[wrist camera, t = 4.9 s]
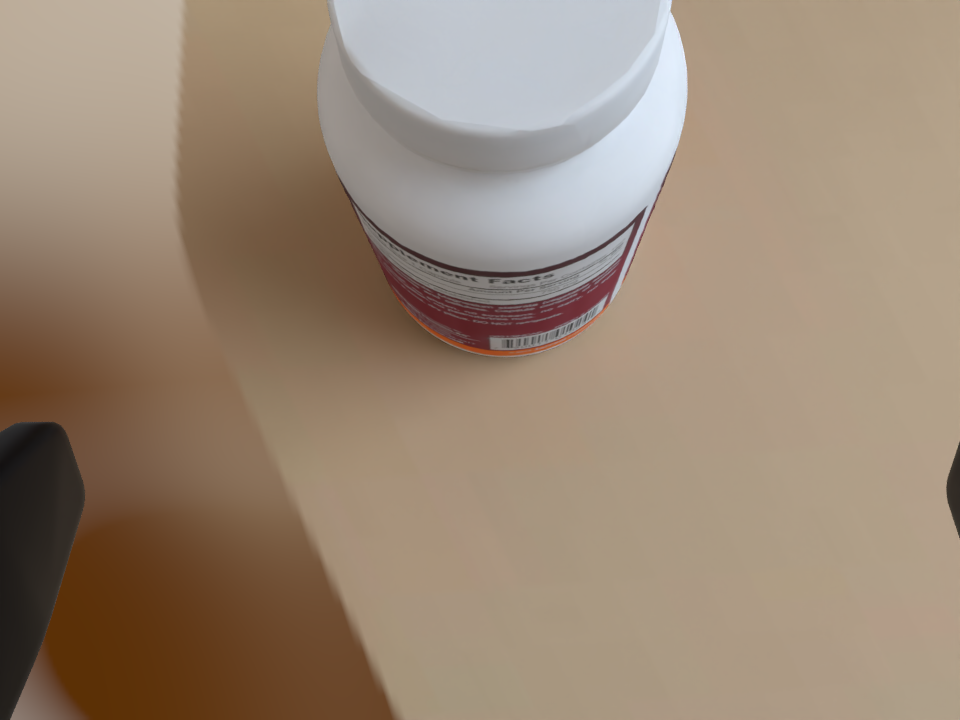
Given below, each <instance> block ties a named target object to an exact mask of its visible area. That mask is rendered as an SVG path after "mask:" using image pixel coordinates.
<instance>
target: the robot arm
mask: <svg viewBox="0 0 960 720" xmlns="http://www.w3.org/2000/svg"><path fill="white" fill-rule="evenodd" d="M946 488H947V500H948V504H949V507H950V510H951V513H952V517H953V520H954V523H955V526H956V529H957V532H958V535H959V538H960V442H959V445H958V449H957V452H956V455H955V458H954V461H953V464H952V467H951V470H950V473H949V476H948V480H947V487H946ZM84 501H85V490H84V484H83V480H82V478H81V474H80V471H79V469H78V465H77V462H76V459H75V456H74V454H73V451H72V448H71V445H70V442H69V439H68V436H67V434H66V432H65V430H64V429H63V428H62V426H61V425H59V424H57V423H55V422H21V423H16V424H14V425H12V426H10V427H8V428H7V429H5V430H3V431H1V432H0V720H10V718H11V716H12V714H13V711H14V709H15V707H16V704H17V702H18V700H19V697H20V695H21V693H22V690H23V688H24V686H25V683H26V681H27V679H28V676H29V674H30V672H31V669H32V667H33V665H34V662H35V660H36V657H37V655H38V652H39V650H40V647H41V645H42V642H43V640H44V637H45V633H46V631H47V627H48V624H49V622H50V619H51V616H52V612H53V609H54V605H55V602H56V599H57V595H58V592H59V589H60V585H61V582H62V578H63V575H64V572H65V568H66V565H67V562H68V558H69V555H70V551H71V548H72V545H73V542H74V538H75V535H76V532H77V528H78V525H79V521H80V518H81V514H82V511H83V507H84Z"/></svg>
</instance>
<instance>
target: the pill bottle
mask: <svg viewBox="0 0 960 720" xmlns="http://www.w3.org/2000/svg"><path fill="white" fill-rule="evenodd" d="M671 3H672V0H327V4H328V11H329V16H330V21H331V25H330V27H329V30H328V33H327V35H326V39H325V43H324V47H323V51H322V55H321V58H320V65H319V72H318V83H317V101H318V114H319V120H320V126H321V130H322V133H323V137H324V141H325V144H326V147H327V150H328V153H329V155H330V158H331V160H332V162H333V164H334V167H335V170H336V173H337V175H338V177H339V180H340V182H341V184H342V186H343V188H344V190H345V193H346V194H347V196H348V198H349V200H350V202H351V205H352V207H353V209H354V211H355V213H356V215H357V218H358V220H359V222H360V224H361V226H362V228H363V230H364V232H365V234H366V236H367V238H368V241H369V243H370V245H371V247H372V249H373V251H374V253H375V255H376V257H377V260H378V262H379V264H380V266H381V269H382V270H383V272H384V275H385V277H386V279H387V281H388V283H389V285H390V287H391V289H392V291H393V293H394V294H395V296H396V298H397V299H398V301H399V302H400V303H401V305H402V306H403V307H404V308H405V310H406V311H407V312H408V313H409V314H410V315H411V316H412V317H413V319H414V320H416V321H417V322H418V323H419V324H420V325H421V326H422V327H423V328H424V329H425V330H427V331H428V332H429V333H431V334H432V335H434V336H435V337H437V338H438V339H440V340H442V341H444V342H445V343H447V344H449V345H451V346H454V347H456V348H459V349H461V350H464V351H467V352H471V353H474V354H479V355H484V356H492V357H519V356H527V355H533V354H537V353H541V352H544V351H547V350H550V349H553V348H555V347H557V346H559V345H561V344H564V343H566V342H568V341H570V340H571V339H573V338H575V337H576V336H578V335H579V334H580V333H582V332H583V331H584V330H586V329H587V328H588V327H589V326H590V325H592V324H593V323H594V322H595V321H596V320H597V319H598V318H599V317H600V316H601V314H602V313H603V312H604V311H605V310H606V308H607V307H608V306H609V304H610V303H611V302H612V300H613V299H614V297H615V295H616V294H617V292H618V290H619V289H620V287H621V285H622V283H623V281H624V280H625V278H626V275H627V273H628V271H629V268H630V265H631V263H632V261H633V259H634V256H635V253H636V250H637V248H638V246H639V243H640V241H641V238H642V236H643V233H644V231H645V228H646V225H647V223H648V221H649V218H650V216H651V213H652V211H653V210H654V208H655V203H656V201H657V199H658V196H659V194H660V192H661V189H662V187H663V185H664V182H665V179H666V177H667V174H668V172H669V170H670V167H671V165H672V162H673V159H674V156H675V153H676V149H677V146H678V143H679V139H680V135H681V132H682V128H683V124H684V118H685V112H686V105H687V67H686V62H685V55H684V50H683V45H682V42H681V38H680V34H679V31H678V28H677V25H676V23H675V20H674V18H673V16H672V14H671V12H670V9H671Z"/></svg>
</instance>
